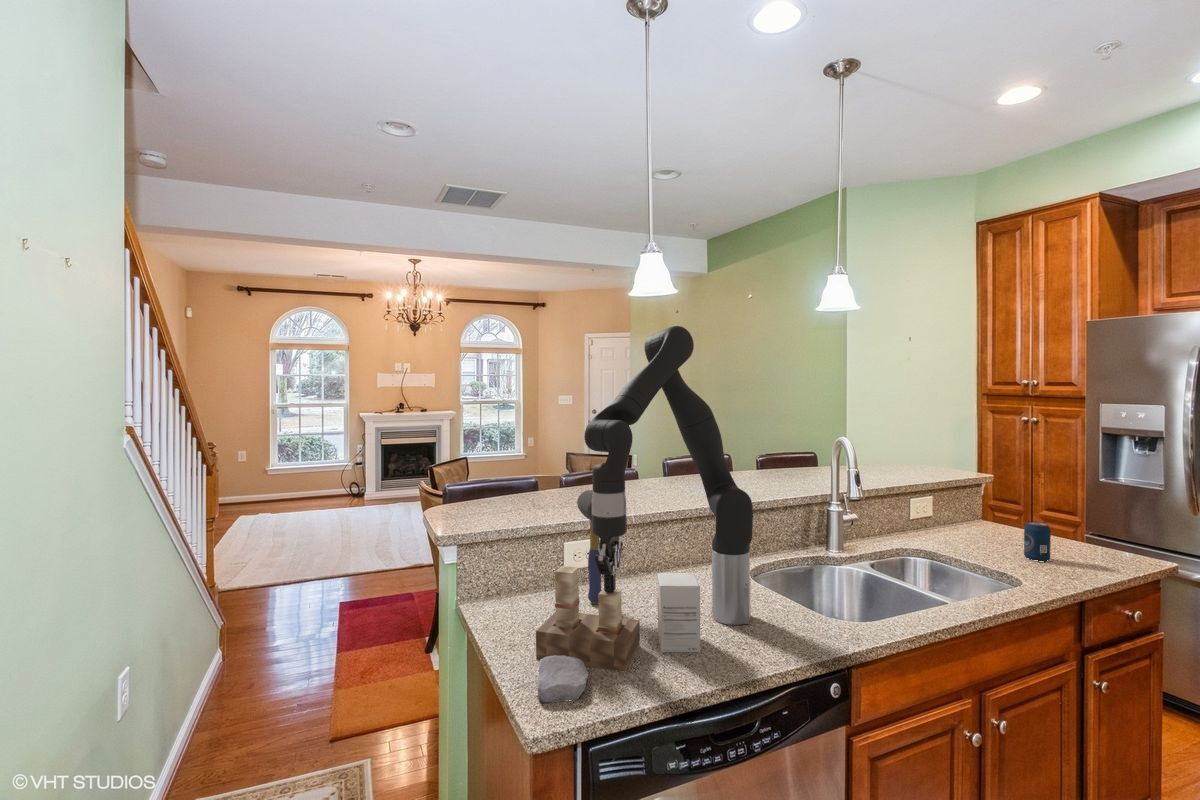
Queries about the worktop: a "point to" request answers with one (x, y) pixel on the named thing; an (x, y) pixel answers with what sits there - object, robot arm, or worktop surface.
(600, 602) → the near birch peg
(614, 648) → the wooden mortise block
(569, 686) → the stone block
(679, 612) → the supplement box
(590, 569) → the rubber mallet
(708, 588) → the worktop surface
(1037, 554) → the soda can
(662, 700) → the worktop surface
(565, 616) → the far birch peg
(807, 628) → the worktop surface
